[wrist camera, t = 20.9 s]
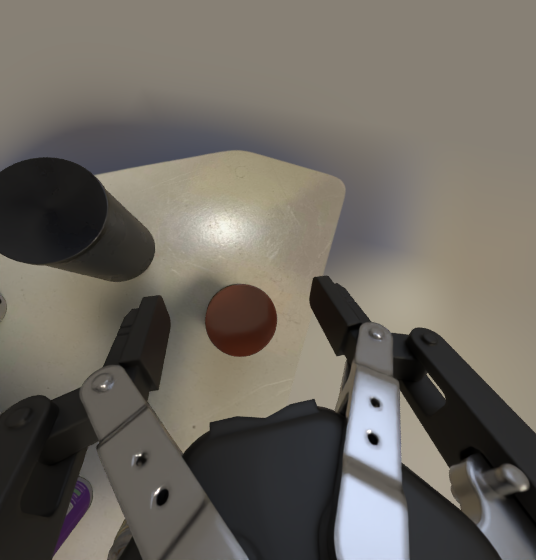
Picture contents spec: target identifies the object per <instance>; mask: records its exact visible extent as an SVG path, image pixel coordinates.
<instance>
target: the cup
mask: <svg viewBox="0 0 536 560" xmlns="http://www.w3.org/2000/svg"><path fill="white" fill-rule="evenodd" d="M5 313H6V302H5V300H4V298H3V297H2V296H1V295H0V321H1V320H2V319H3V317H4V316H5Z"/></svg>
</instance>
